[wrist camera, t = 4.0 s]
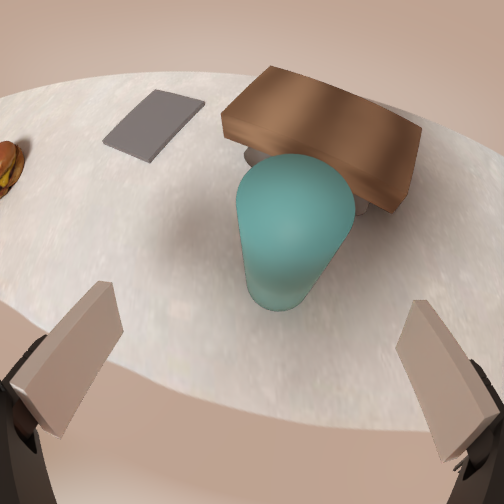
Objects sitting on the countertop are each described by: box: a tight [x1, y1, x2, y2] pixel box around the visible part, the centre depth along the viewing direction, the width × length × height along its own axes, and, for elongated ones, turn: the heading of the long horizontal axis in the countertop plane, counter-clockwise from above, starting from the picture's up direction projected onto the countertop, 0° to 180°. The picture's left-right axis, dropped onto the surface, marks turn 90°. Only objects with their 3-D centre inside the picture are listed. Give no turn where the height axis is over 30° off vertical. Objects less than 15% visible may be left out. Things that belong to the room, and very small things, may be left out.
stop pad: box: [102, 89, 204, 163], centre depth 30 cm, size 8×10×1 cm
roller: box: [236, 154, 355, 311], centre depth 17 cm, size 5×5×12 cm
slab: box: [221, 66, 422, 215], centre depth 24 cm, size 16×9×6 cm, turn 60°
